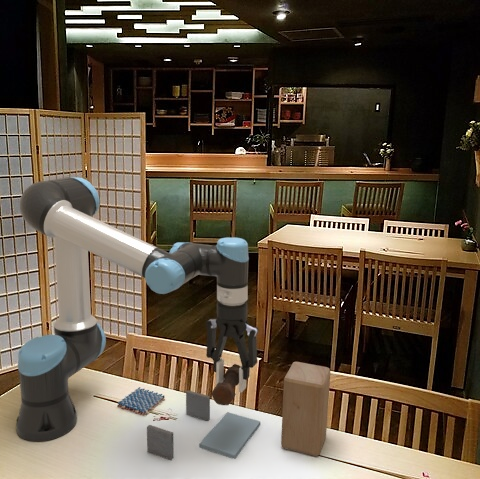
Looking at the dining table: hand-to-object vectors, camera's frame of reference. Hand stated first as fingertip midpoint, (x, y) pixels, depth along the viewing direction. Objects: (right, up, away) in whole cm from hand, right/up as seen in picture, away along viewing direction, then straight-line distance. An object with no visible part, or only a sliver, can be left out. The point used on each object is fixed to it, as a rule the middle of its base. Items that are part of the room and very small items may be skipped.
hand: (231, 386), depth 127 cm
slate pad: (0, -14, +3) cm, 14 cm away
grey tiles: (-13, -14, +3) cm, 19 cm away
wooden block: (+19, -15, +1) cm, 24 cm away
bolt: (0, -1, -1) cm, 1 cm away
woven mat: (-26, -11, +18) cm, 33 cm away
